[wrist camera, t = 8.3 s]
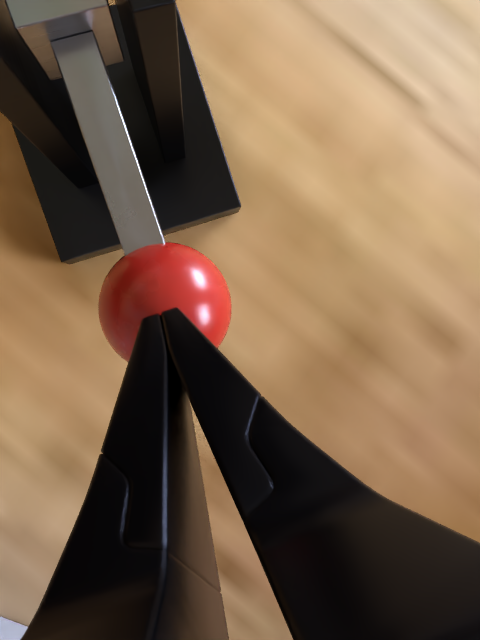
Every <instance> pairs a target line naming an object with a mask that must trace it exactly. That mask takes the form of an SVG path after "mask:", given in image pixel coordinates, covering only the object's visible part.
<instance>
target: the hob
mask: <svg viewBox="0 0 480 640" xmlns="http://www.w3.org/2000/svg"><path fill="white" fill-rule="evenodd" d="M27 628H28V627H27V626H25V625H22V624H19V623H17V622H14V621H12V620H9V619H6V618H4V617H1V616H0V640H20V639H21V638H22V636H23V635H24V633H25V631H26V630H27Z"/></svg>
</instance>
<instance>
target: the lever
mask: <svg viewBox="0 0 480 640" xmlns="http://www.w3.org/2000/svg"><path fill="white" fill-rule="evenodd" d="M5 3H6V5H7V8H8V11H9V14H10V16H11V19H12V22H13V25H14V28H15V29H16V31H17V32H18V34H19V35H20V37H21V38H22V40H23V41H24V42H25V44H26V45H27V47H28V48H29V50H30V51H31V53H32V54H33V56H34V57H35V59H36V60H37V62H38V63H39V65H40V66H41V68H42V69H43V71H44V72H45V74H46V75H47V77H48V78H49V79H50V80H55V79H59V78H63V81H64V84H65V87H66V90H67V93H68V95H69V98H70V101H71V104H72V107H73V110H74V112H75V115H76V118H77V121H78V124H79V127H80V130H81V132H82V135H83V138H84V141H85V144H86V147H87V149H88V152H89V155H90V158H91V161H92V164H93V166H94V169H95V172H96V175H97V178H98V181H99V183H100V186H101V189H102V192H103V195H104V198H105V200H106V203H107V206H108V209H109V212H110V215H111V217H112V220H113V223H114V226H115V229H116V232H117V234H118V237H119V240H120V243H121V246H122V249H123V252H124V254H125V256H123V257H122V258H121V259H120V260H119V261H118V262H117V263H116V264H115V265H114V266H113V267H112V269H111V270H110V271H109V273H108V275H107V276H106V278H105V280H104V283H103V285H102V288H101V292H100V296H99V319H100V323H101V327H102V330H103V332H104V335H105V337H106V339H107V340H108V342H109V344H110V345H111V346H112V348H113V349H114V350H115V351H116V352H117V353H118V354H119V355H120V356H121V357H122V358H123V359H125V360H126V361H127V362H129V359H130V356H131V352H132V349H133V346H134V343H135V339H136V336H137V333H138V330H139V327H140V323H141V320H142V319H143V318H144V317H147V316H150V315H153V314H156V313H159V314H160V315H161V313H162V312H163V311H165V310H168V309H171V308H174V307H178V308H179V309H180V310H181V311H182V312H183V313H184V314H185V315H186V316H187V317H188V318H189V319H190V320H191V321H192V322H193V323H194V324H195V325H196V327H197V328H198V329H199V330H200V331H201V332H202V333H203V334H204V335H205V336H206V337H207V338H208V339H209V340H210V341H211V342H212V343H213V344H214V345H215V347H216V348H218V347H219V345H220V344H221V342H222V341H223V339H224V337H225V335H226V333H227V330H228V327H229V324H230V319H231V298H230V293H229V289H228V286H227V284H226V281H225V279H224V277H223V276H222V274H221V272H220V271H219V270H218V268H217V267H216V266H215V265H214V264H213V263H212V262H211V260H209V259H208V258H207V257H206V256H204V255H203V254H202V253H200V252H198V251H197V250H195V249H192V248H190V247H188V246H185V245H181V244H176V243H168V242H166V241H165V238H164V235H163V233H162V230H161V227H160V224H159V221H158V218H157V215H156V212H155V209H154V206H153V203H152V200H151V197H150V194H149V191H148V188H147V185H146V182H145V179H144V176H143V173H142V171H141V168H140V165H139V162H138V159H137V156H136V153H135V150H134V147H133V144H132V141H131V138H130V135H129V132H128V129H127V126H126V123H125V120H124V117H123V114H122V112H121V109H120V106H119V103H118V100H117V97H116V94H115V91H114V88H113V85H112V82H111V79H110V76H109V73H108V70H107V67H106V66H107V65H111V64H115V63H119V62H122V61H124V56H123V52H122V49H121V45H120V42H119V38H118V35H117V31H116V28H115V24H114V21H113V17H112V14H111V10H110V7H109V3H108V0H5Z"/></svg>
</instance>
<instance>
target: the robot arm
mask: <svg viewBox="0 0 480 640" xmlns="http://www.w3.org/2000/svg"><path fill="white" fill-rule="evenodd" d="M190 403H191V405H192V407H193V410H194V412H195V414H196V416H197V419H198V421H199V423H200V425H201V428H202V430H203V432H204V434H205V437H206V439H207V441H208V443H209V446H210V448H211V450H212V453H213V455H214V457H215V459H216V462H217V464H218V466H219V468H220V471H221V473H222V475H223V477H224V480H225V482H226V484H227V486H228V489H229V491H230V493H231V496H232V498H233V500H234V502H235V505H236V507H237V509H238V511H239V514H240V516H241V518H242V520H243V522H244V525H245V527H246V530H247V532H248V534H249V536H250V539H251V541H252V543H253V546H254V548H255V550H256V552H257V555H258V557H259V559H260V562H261V564H262V567H263V569H264V571H265V574H266V576H267V578H268V581H269V583H270V585H271V588H272V590H273V593H274V595H275V597H276V600H277V602H278V604H279V607H280V609H281V611H282V614H283V616H284V619H285V621H286V623H287V626H288V628H289V630H290V633H291V635H292V638H293V640H480V543H479V542H477V541H475V540H473V539H471V538H469V537H466V536H464V535H462V534H460V533H458V532H456V531H454V530H452V529H450V528H447V527H445V526H443V525H441V524H439V523H437V522H435V521H433V520H431V519H429V518H426V517H424V516H422V515H420V514H418V513H416V512H414V511H412V510H410V509H408V508H405V507H403V506H401V505H399V504H397V503H395V502H393V501H391V500H389V499H387V498H385V497H384V496H382V495H380V494H379V493H377V492H376V491H374V490H373V489H371V488H370V487H368V486H367V485H365V484H364V483H363V482H361V481H360V480H359V479H357V478H356V477H355V476H354V475H352V474H351V473H350V472H349V471H347V470H346V469H345V468H344V467H342V466H341V465H340V464H339V463H337V462H336V461H335V460H334V459H332V458H331V457H330V456H329V455H327V454H326V453H325V452H324V451H322V450H321V449H320V448H319V447H317V446H316V445H315V444H314V443H312V442H311V441H310V440H309V439H307V438H306V437H305V436H304V435H303V434H302V433H300V432H299V431H298V430H297V429H296V428H295V427H293V426H292V425H291V424H290V423H289V422H288V421H287V420H286V419H285V418H284V417H283V416H282V415H281V414H280V413H279V412H278V411H277V410H276V409H275V408H274V407H273V406H272V405H271V404H270V403H269V402H268V401H267V400H266V399H265V398H264V397H263V396H261V394H260V393H259V392H258V391H257V390H256V389H255V388H254V387H253V386H252V384H251V383H250V382H249V381H248V380H247V379H246V378H245V377H244V376H243V375H242V374H241V373H240V372H239V371H238V370H237V369H236V368H235V367H234V366H233V364H232V363H231V362H230V361H229V360H228V359H227V358H226V357H225V356H224V355H223V354H222V353H221V352H220V351H219V350H218V349H217V348H216V347H215V345H214V344H213V343H212V342H211V341H210V340H209V339H208V338H207V337H206V336H205V335H204V334H203V333H202V332H201V331H200V330H199V329H198V328H197V327H196V325H195V324H194V323H193V322H192V321H191V320H190V319H189V318H188V317H187V316H186V315H185V314H184V313H183V312H182V311H181V310H180V309H179V308H178V307H174V308H171V309H168V310H165V311H163V312H162V313H161V315H160V314H159V313H156V314H153V315H150V316H147V317H144V318H143V319H142V320H141V323H140V327H139V330H138V333H137V336H136V339H135V343H134V346H133V349H132V352H131V356H130V359H129V362H128V365H127V368H126V372H125V375H124V378H123V381H122V385H121V388H120V391H119V394H118V397H117V401H116V404H115V407H114V410H113V413H112V417H111V420H110V423H109V426H108V430H107V433H106V436H105V439H104V442H103V446H102V449H101V452H102V453H103V454H100V455H99V458H98V461H97V464H96V468H95V471H94V474H93V477H92V480H91V483H90V486H89V489H88V492H87V494H86V497H85V500H84V502H83V505H82V507H81V510H80V512H79V515H78V517H77V520H76V522H75V525H74V527H73V529H72V532H71V534H70V536H69V539H68V541H67V543H66V546H65V548H64V550H63V553H62V555H61V557H60V560H59V562H58V564H57V567H56V569H55V571H54V574H53V576H52V578H51V581H50V583H49V585H48V588H47V590H46V592H45V595H44V597H43V599H42V601H41V603H40V606H39V608H38V610H37V612H36V614H35V616H34V618H33V619H32V621H31V623H30V625H29V626H28V628H27V630H26V631H25V633H24V635H23V636H22V638H21V639H20V640H229V637H228V631H227V624H226V618H225V612H224V606H223V600H222V594H221V593H220V592H221V588H220V582H219V576H218V570H217V564H216V558H215V552H214V546H213V539H212V533H211V527H210V521H209V515H208V509H207V503H206V497H205V491H204V484H203V478H202V472H201V466H200V460H199V454H198V448H197V442H196V436H195V430H194V423H193V417H192V411H191V406H190Z"/></svg>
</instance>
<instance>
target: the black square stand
mask: <svg viewBox="0 0 480 640" xmlns="http://www.w3.org/2000/svg"><path fill="white" fill-rule="evenodd" d="M115 2H116V4H115V5H111V6H109V7H110V10H111V14H112V17H113V21H114V24H115V28H116V31H117V35H118V38H119V42H120V45H121V49H122V52H123V56H124V61H122V62H119V63H115V64H111V65H107V66H106V67H107V70H108V73H109V76H110V79H111V82H112V85H113V88H114V91H115V94H116V97H117V100H118V103H119V106H120V109H121V112H122V114H123V117H124V120H125V123H126V126H127V129H128V132H129V135H130V138H131V141H132V144H133V147H134V150H135V153H136V156H137V159H138V162H139V165H140V168H141V171H142V173H143V176H144V179H145V182H146V185H147V188H148V191H149V194H150V197H151V200H152V203H153V206H154V209H155V212H156V215H157V218H158V221H159V224H160V227H161V230H162V233H163V235H166V234H169V233H173V232H176V231H179V230H182V229H186V228H189V227H192V226H195V225H198V224H202V223H205V222H208V221H211V220H215V219H218V218H221V217H224V216H227V215H231V214H234V213H237V212H239V210H240V208H241V204H240V200H239V197H238V194H237V191H236V188H235V185H234V182H233V179H232V176H231V172H230V169H229V166H228V163H227V160H226V157H225V154H224V151H223V148H222V145H221V141H220V138H219V135H218V132H217V129H216V126H215V123H214V120H213V117H212V114H211V110H210V107H209V104H208V101H207V98H206V95H205V92H204V89H203V86H202V82H201V79H200V76H199V73H198V70H197V67H196V64H195V61H194V58H193V55H192V51H191V48H190V45H189V42H188V39H187V36H186V33H185V30H184V27H183V24H182V20H181V17H180V14H179V11H178V8H177V5H176V2H175V0H115ZM0 112H1V113H2V114H3V115H4V116H5V117H6V118H7V119H8V120H9V121H10V122H11V123H12V126H13V128H14V131H15V134H16V137H17V140H18V142H19V145H20V148H21V151H22V154H23V156H24V159H25V162H26V165H27V168H28V170H29V173H30V176H31V179H32V182H33V184H34V187H35V190H36V193H37V196H38V198H39V201H40V204H41V207H42V210H43V212H44V215H45V218H46V221H47V223H48V226H49V229H50V232H51V235H52V237H53V240H54V243H55V246H56V249H57V251H58V254H59V257H60V260H61V262H64V263H67V264H73V263H76V262H79V261H82V260H86V259H89V258H92V257H95V256H99V255H102V254H105V253H108V252H111V251H115V250H118V249H121V248H122V246H121V243H120V240H119V237H118V234H117V232H116V229H115V226H114V223H113V220H112V217H111V215H110V212H109V209H108V206H107V203H106V200H105V198H104V195H103V192H102V189H101V186H100V183H99V181H98V178H97V175H96V172H95V169H94V166H93V164H92V161H91V158H90V155H89V152H88V149H87V147H86V144H85V141H84V138H83V135H82V132H81V130H80V127H79V124H78V121H77V118H76V115H75V112H74V110H73V107H72V104H71V101H70V98H69V95H68V93H67V90H66V87H65V84H64V81H63V78H59V79H55V80H50V79H49V78H48V77H47V75H46V74H45V72H44V71H43V69H42V68H41V66H40V65H39V63H38V62H37V60H36V59H35V57H34V56H33V54H32V53H31V51H30V50H29V48H28V47H27V45H26V44H25V42H24V41H23V40H22V38H21V37H20V35H19V34H18V32H17V31H16V29H15V28H14V25H13V22H12V19H11V16H10V14H9V11H8V8H7V5H6V3H5V0H0Z"/></svg>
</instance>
